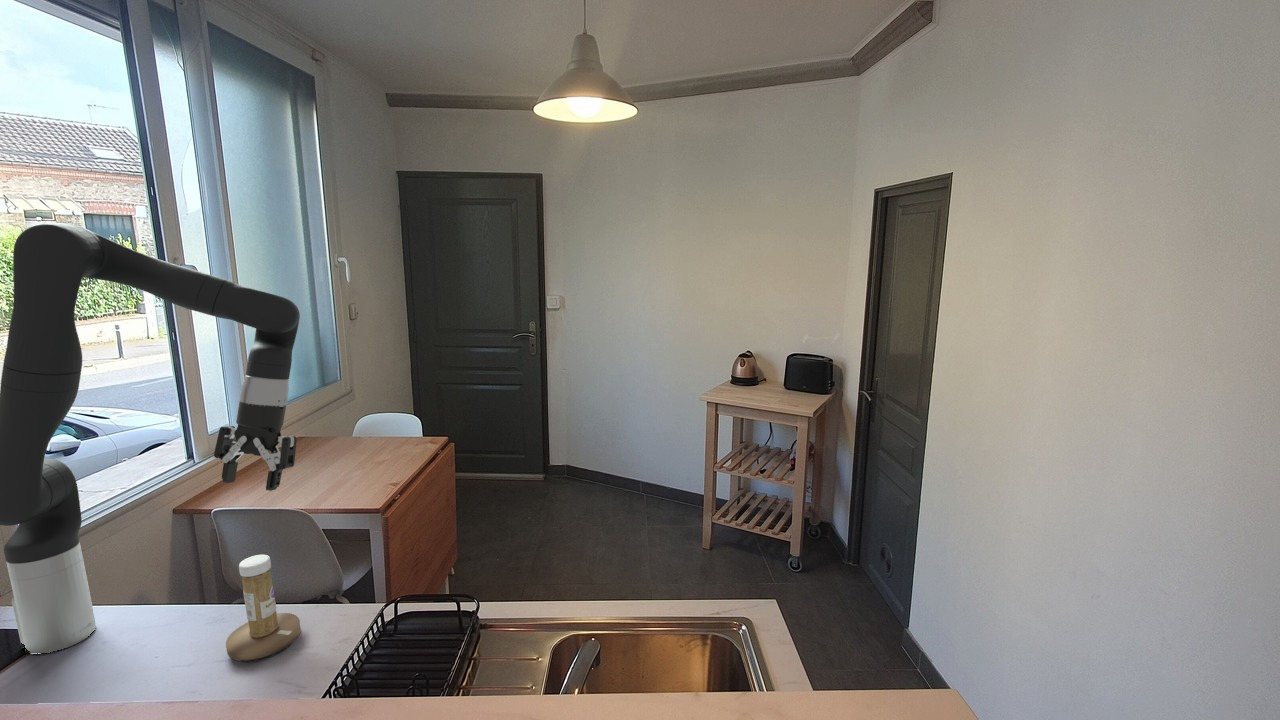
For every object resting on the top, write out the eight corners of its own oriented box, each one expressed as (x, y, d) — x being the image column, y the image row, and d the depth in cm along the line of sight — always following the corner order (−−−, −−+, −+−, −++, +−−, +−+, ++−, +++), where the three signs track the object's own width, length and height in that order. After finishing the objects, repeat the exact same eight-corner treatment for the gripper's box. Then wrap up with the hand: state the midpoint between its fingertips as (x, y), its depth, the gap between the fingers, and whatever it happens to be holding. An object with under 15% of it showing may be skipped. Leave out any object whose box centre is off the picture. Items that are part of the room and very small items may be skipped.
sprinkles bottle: (279, 632, 102) (270, 561, 100) (248, 642, 100) (238, 569, 98) (278, 619, 106) (269, 550, 104) (248, 628, 104) (238, 558, 101)
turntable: (210, 657, 98) (209, 649, 98) (260, 618, 109) (259, 610, 109) (269, 662, 97) (268, 653, 97) (314, 622, 108) (313, 614, 107)
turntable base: (221, 660, 99) (220, 654, 99) (262, 627, 108) (261, 622, 108) (269, 663, 98) (268, 658, 98) (306, 630, 107) (305, 625, 107)
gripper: (212, 395, 107) (198, 483, 107) (285, 407, 106) (271, 496, 106) (243, 394, 114) (229, 476, 114) (311, 405, 113) (298, 488, 113)
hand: (250, 486), depth 110 cm, fingers open, 8 cm apart
